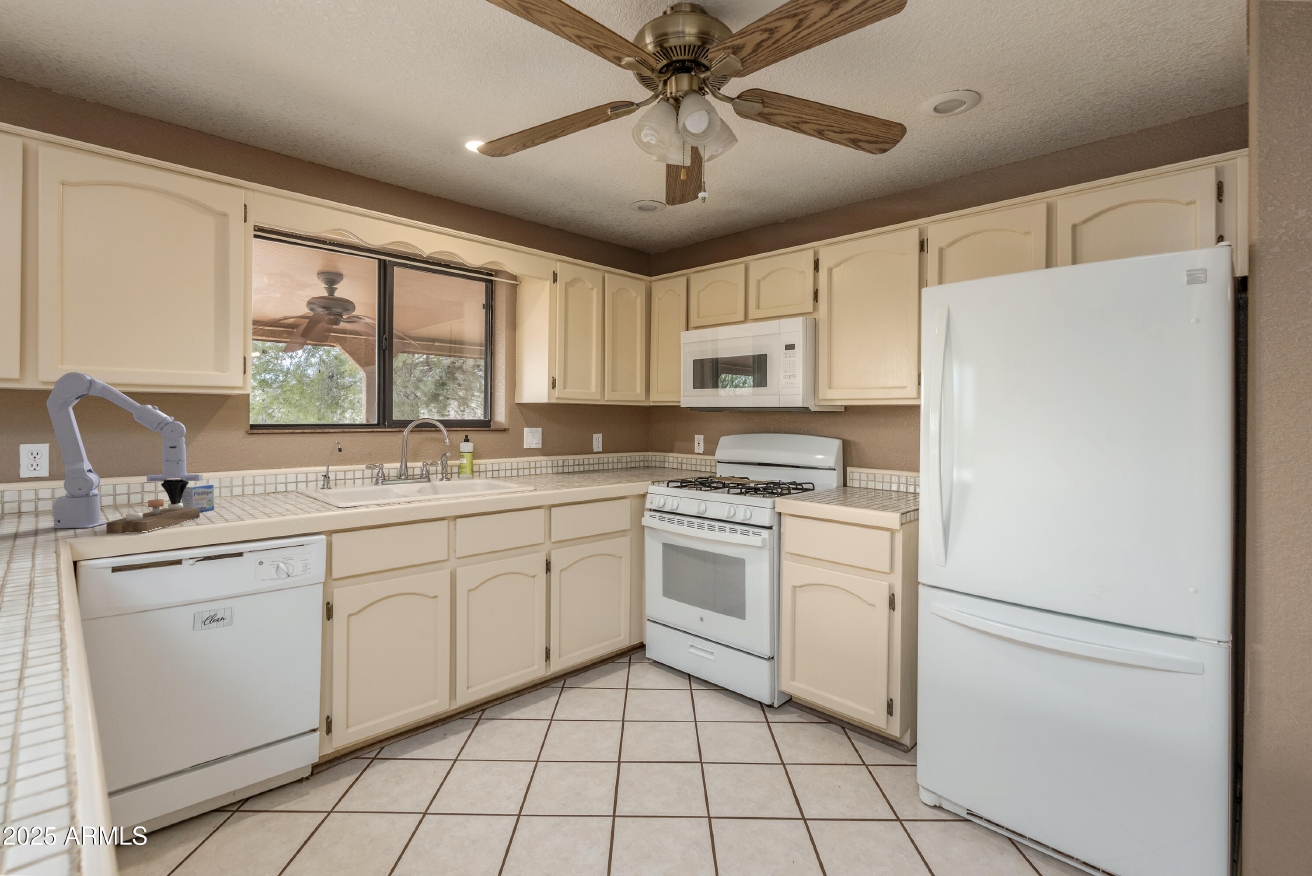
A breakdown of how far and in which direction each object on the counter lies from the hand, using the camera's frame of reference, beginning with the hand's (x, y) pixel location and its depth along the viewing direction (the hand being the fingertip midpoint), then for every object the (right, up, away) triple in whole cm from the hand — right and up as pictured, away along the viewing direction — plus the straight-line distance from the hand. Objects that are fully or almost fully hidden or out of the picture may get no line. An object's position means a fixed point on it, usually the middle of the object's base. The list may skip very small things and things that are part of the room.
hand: (175, 504), depth 187 cm
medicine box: (-4, -4, +15) cm, 16 cm away
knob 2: (0, -4, 0) cm, 4 cm away
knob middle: (+1, -2, -9) cm, 9 cm away
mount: (+1, -5, -9) cm, 10 cm away
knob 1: (+2, -5, -18) cm, 18 cm away
